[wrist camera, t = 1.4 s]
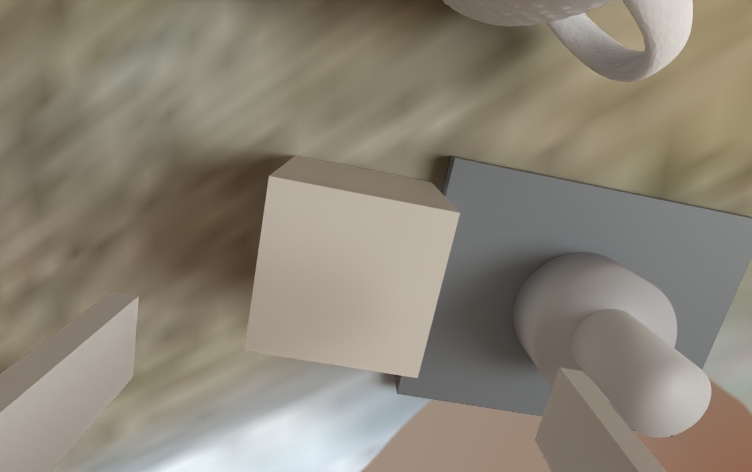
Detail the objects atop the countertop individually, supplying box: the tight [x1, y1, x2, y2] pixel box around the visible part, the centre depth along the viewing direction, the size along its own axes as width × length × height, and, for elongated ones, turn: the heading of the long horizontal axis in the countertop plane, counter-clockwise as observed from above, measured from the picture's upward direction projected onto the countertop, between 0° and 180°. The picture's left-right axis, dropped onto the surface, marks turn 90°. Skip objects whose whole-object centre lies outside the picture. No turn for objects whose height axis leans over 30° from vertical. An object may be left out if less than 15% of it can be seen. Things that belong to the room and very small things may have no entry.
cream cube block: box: [244, 155, 460, 378], centre depth 25 cm, size 8×8×8 cm
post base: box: [396, 156, 752, 437], centre depth 26 cm, size 20×16×10 cm
